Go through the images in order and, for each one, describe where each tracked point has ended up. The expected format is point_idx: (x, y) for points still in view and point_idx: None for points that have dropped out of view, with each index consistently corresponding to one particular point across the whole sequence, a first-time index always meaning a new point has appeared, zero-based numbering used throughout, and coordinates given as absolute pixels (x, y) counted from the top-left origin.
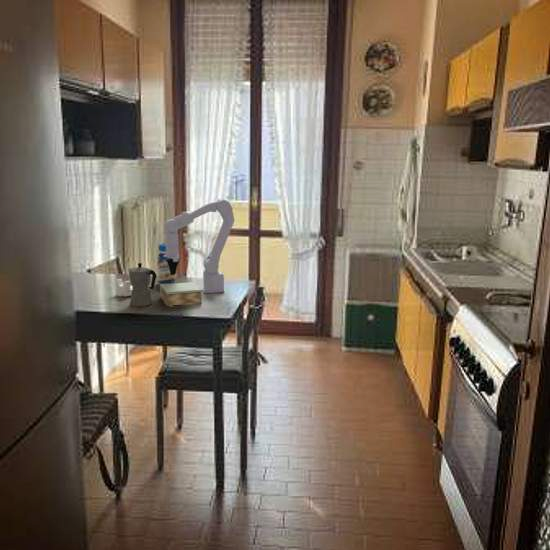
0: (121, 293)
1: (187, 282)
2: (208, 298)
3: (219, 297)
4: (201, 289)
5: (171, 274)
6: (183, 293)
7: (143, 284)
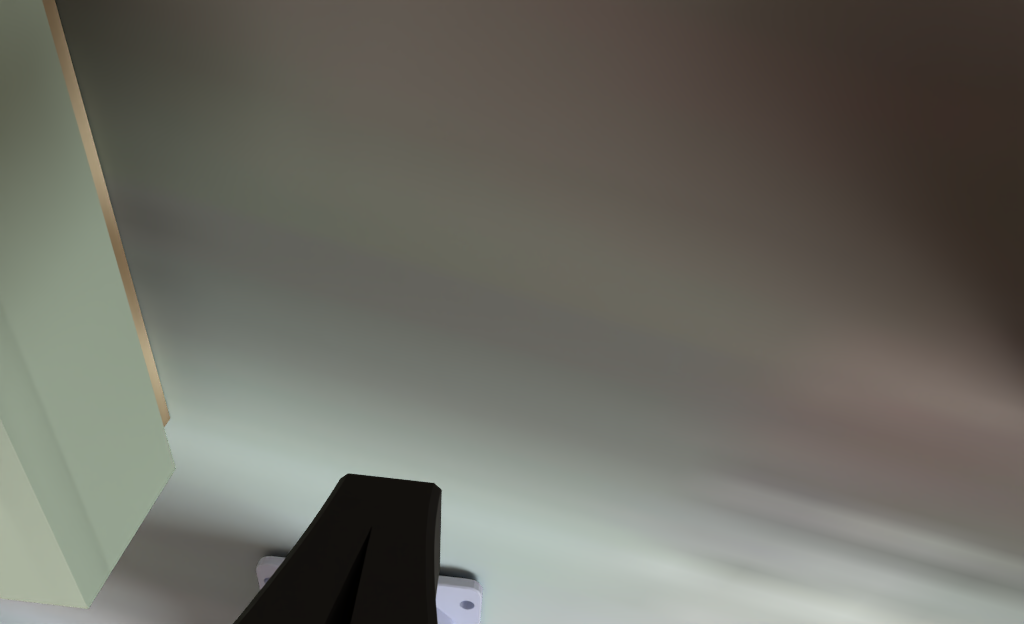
0: None
1: (33, 537)
2: None
3: None
4: (447, 583)
5: (340, 489)
6: None
7: None
